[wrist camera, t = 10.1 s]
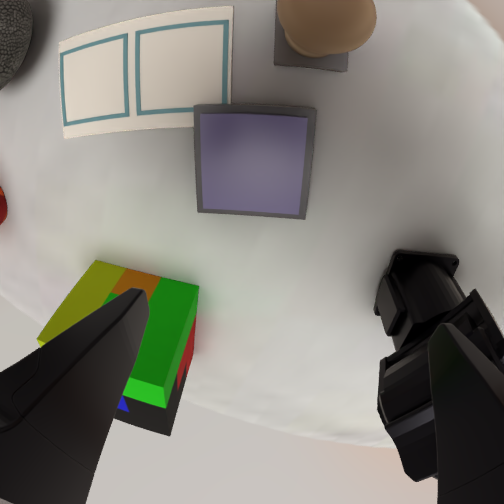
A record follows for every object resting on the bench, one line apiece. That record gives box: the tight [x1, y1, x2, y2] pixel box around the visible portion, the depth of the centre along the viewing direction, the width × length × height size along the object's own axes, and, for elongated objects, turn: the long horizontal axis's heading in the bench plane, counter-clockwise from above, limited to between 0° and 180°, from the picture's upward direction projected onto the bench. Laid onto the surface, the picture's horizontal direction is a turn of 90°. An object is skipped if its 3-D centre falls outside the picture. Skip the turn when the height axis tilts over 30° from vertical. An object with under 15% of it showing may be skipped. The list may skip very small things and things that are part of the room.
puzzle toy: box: [37, 260, 199, 436], centre depth 23 cm, size 10×10×10 cm
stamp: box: [274, 0, 377, 72], centre depth 10 cm, size 4×4×9 cm
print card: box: [59, 6, 233, 139], centre depth 15 cm, size 13×8×1 cm, turn 89°
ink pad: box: [193, 103, 317, 220], centre depth 17 cm, size 7×7×2 cm
